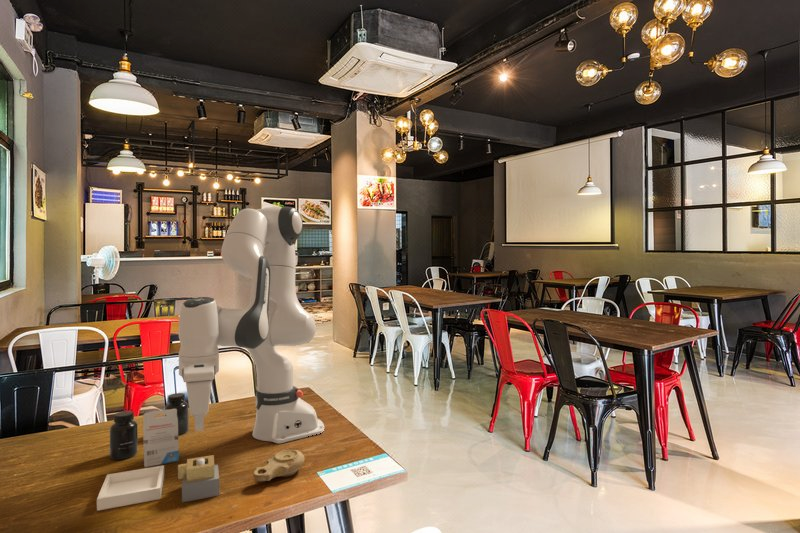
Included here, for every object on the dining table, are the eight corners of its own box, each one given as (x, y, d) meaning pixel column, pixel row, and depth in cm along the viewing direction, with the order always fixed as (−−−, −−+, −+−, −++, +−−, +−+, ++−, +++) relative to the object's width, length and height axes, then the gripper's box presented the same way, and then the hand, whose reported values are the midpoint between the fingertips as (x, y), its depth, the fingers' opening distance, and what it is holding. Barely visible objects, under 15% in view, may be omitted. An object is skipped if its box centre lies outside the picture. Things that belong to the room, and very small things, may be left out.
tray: (164, 475, 120) (164, 465, 120) (160, 498, 108) (160, 487, 108) (107, 484, 115) (107, 474, 115) (96, 510, 103) (96, 499, 103)
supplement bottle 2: (165, 430, 150) (164, 393, 150) (188, 426, 153) (187, 390, 153) (165, 437, 144) (164, 399, 144) (189, 434, 147) (188, 396, 147)
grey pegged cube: (218, 480, 117) (217, 450, 117) (219, 495, 110) (218, 464, 110) (183, 486, 114) (182, 456, 114) (182, 502, 107) (181, 470, 106)
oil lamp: (250, 489, 113) (250, 469, 113) (270, 463, 127) (270, 445, 127) (293, 491, 112) (293, 470, 112) (308, 464, 126) (308, 446, 126)
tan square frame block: (213, 466, 116) (213, 455, 116) (214, 477, 110) (214, 465, 110) (178, 472, 113) (178, 460, 113) (177, 484, 107) (177, 471, 107)
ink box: (178, 454, 132) (177, 403, 132) (178, 461, 128) (178, 408, 128) (144, 460, 128) (143, 407, 128) (143, 467, 124) (142, 413, 124)
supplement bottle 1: (125, 461, 128) (124, 418, 127) (103, 459, 129) (103, 416, 129) (143, 451, 134) (142, 410, 134) (123, 449, 136) (122, 408, 135)
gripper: (185, 358, 119) (186, 411, 119) (183, 376, 101) (183, 440, 101) (212, 356, 122) (212, 408, 122) (214, 373, 103) (214, 435, 103)
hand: (199, 423), depth 111 cm, fingers open, 8 cm apart
